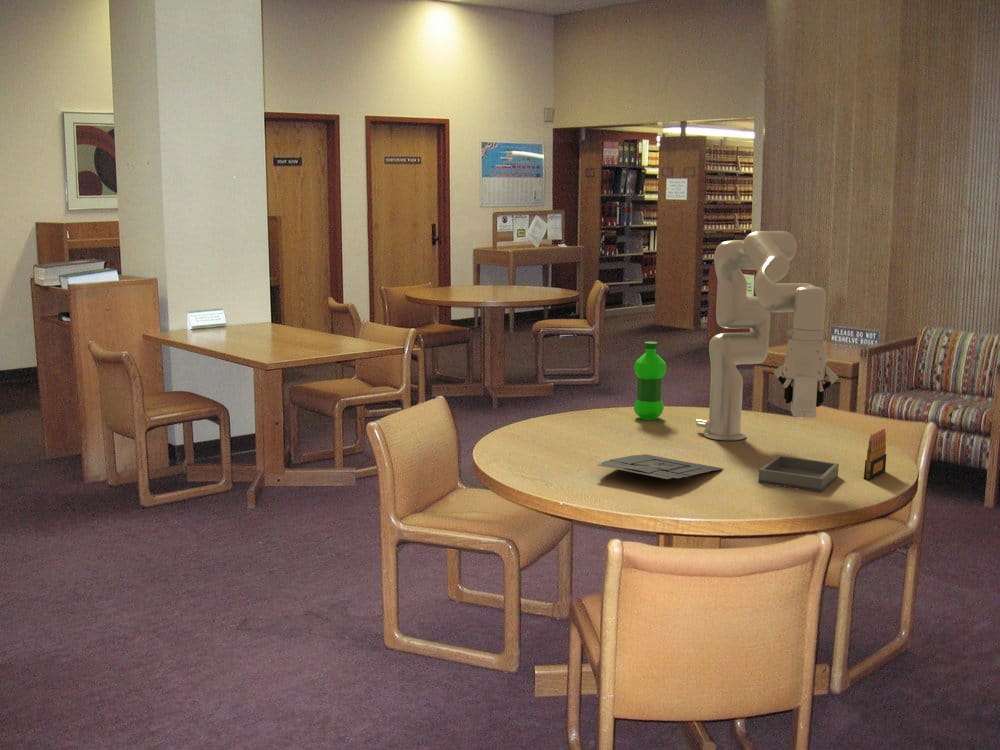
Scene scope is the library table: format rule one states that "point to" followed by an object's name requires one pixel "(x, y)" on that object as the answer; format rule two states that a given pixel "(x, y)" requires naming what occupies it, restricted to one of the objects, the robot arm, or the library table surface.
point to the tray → (798, 473)
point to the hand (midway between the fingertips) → (803, 403)
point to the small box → (804, 396)
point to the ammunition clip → (876, 455)
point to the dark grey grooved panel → (657, 466)
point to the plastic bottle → (649, 383)
